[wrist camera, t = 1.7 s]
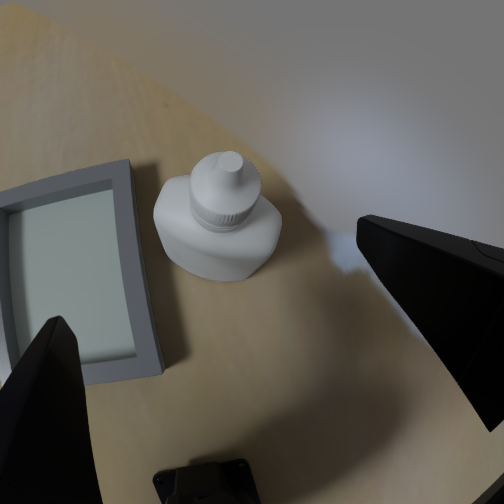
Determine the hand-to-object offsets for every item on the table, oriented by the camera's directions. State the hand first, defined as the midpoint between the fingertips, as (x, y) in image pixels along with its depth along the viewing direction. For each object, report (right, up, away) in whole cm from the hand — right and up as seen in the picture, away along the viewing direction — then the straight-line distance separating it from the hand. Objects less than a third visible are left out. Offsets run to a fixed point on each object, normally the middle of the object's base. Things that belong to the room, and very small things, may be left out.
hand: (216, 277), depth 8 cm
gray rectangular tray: (-11, -1, +10) cm, 15 cm away
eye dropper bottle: (-2, +1, +12) cm, 12 cm away
